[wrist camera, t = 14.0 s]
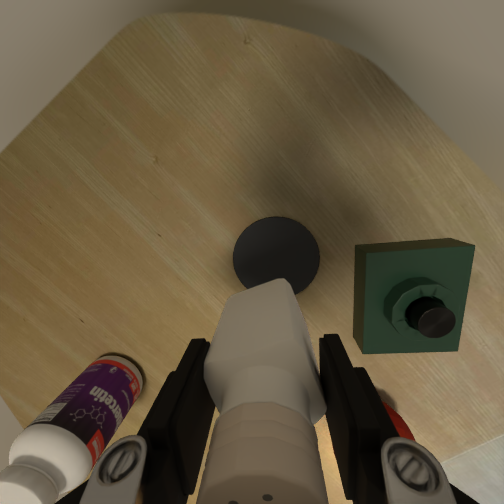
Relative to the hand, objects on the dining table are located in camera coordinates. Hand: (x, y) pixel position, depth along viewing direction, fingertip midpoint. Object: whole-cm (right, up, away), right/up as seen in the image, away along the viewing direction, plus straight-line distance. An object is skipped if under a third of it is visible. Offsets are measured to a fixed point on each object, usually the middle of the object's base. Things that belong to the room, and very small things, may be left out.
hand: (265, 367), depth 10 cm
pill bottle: (-20, -13, +24) cm, 34 cm away
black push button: (+16, -1, +13) cm, 21 cm away
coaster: (+2, +4, +17) cm, 18 cm away
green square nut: (+17, 0, +17) cm, 24 cm away
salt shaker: (0, +1, +5) cm, 5 cm away
